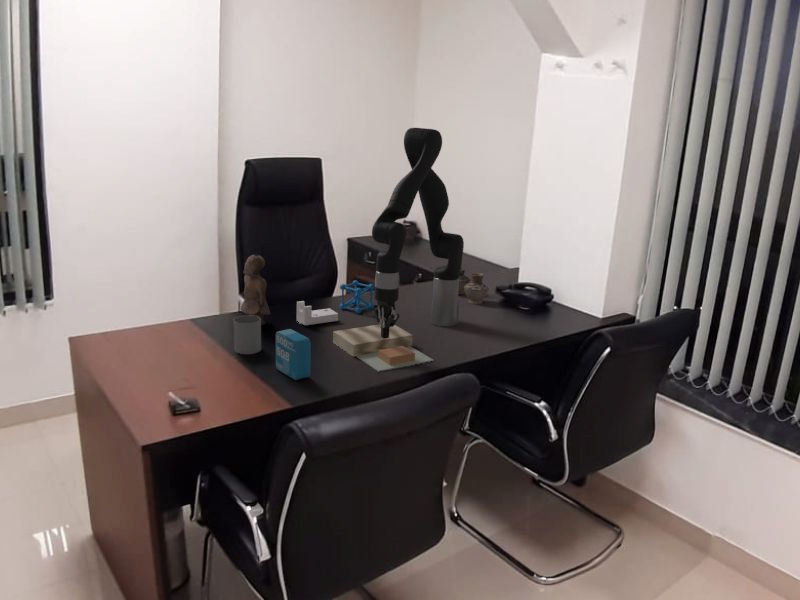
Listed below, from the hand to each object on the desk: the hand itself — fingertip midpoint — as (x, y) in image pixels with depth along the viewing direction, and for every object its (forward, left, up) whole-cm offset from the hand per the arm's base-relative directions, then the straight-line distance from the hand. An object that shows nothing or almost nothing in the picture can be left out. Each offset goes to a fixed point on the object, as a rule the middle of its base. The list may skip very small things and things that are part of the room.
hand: (384, 337), depth 218 cm
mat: (0, +6, -5) cm, 8 cm away
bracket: (+6, -37, -6) cm, 38 cm away
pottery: (-63, -41, -5) cm, 75 cm away
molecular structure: (-14, -45, -5) cm, 47 cm away
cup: (+38, -21, -5) cm, 44 cm away
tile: (0, +7, -3) cm, 8 cm away
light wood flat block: (0, -8, -5) cm, 9 cm away
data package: (+33, +3, -5) cm, 33 cm away
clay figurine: (+27, -43, -5) cm, 51 cm away
